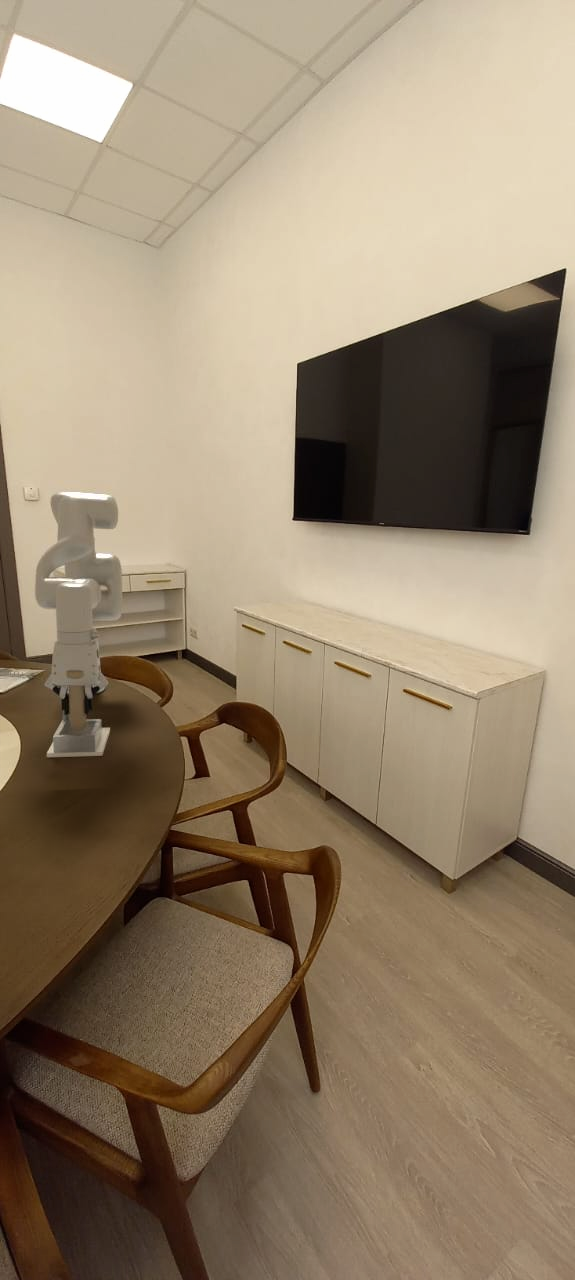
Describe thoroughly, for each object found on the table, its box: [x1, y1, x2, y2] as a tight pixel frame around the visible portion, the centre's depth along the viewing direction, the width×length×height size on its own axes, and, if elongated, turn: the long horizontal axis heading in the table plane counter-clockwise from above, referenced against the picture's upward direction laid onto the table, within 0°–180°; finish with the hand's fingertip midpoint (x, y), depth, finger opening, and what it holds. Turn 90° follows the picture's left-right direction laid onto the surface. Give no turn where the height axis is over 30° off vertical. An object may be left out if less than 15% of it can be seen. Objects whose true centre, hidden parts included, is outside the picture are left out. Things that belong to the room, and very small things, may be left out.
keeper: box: [46, 710, 111, 758], centre depth 124 cm, size 14×12×9 cm
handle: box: [66, 671, 87, 731], centre depth 121 cm, size 5×6×15 cm
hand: (77, 711), depth 121 cm, fingers closed on handle, 3 cm apart
